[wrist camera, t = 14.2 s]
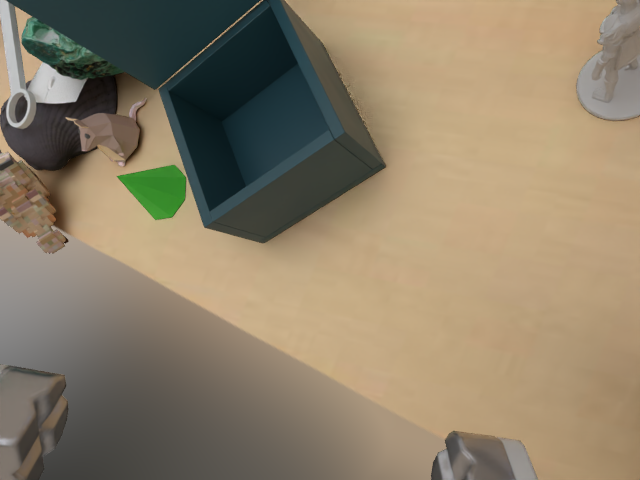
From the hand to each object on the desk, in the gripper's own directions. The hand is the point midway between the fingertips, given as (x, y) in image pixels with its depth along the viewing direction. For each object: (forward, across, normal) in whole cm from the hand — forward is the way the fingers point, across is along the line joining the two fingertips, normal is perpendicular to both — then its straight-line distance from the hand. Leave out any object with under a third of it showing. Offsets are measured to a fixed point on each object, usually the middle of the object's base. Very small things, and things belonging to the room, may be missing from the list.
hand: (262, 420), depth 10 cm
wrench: (+50, +30, +5) cm, 59 cm away
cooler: (+35, 0, +7) cm, 35 cm away
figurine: (+26, -20, -5) cm, 34 cm away
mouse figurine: (+45, +17, +14) cm, 50 cm away
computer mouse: (+50, +25, +11) cm, 57 cm away
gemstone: (+38, +12, +17) cm, 43 cm away
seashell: (+53, +27, +18) cm, 62 cm away
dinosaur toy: (+43, +32, +19) cm, 57 cm away
